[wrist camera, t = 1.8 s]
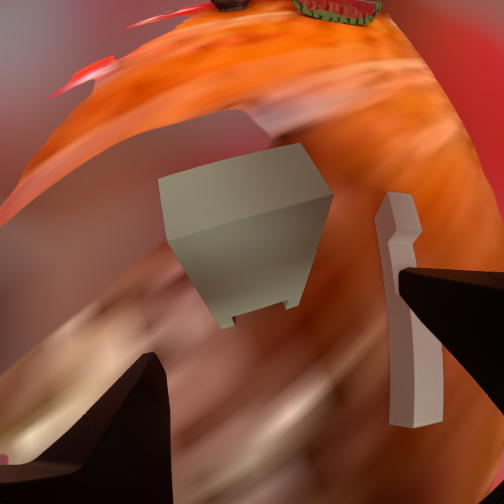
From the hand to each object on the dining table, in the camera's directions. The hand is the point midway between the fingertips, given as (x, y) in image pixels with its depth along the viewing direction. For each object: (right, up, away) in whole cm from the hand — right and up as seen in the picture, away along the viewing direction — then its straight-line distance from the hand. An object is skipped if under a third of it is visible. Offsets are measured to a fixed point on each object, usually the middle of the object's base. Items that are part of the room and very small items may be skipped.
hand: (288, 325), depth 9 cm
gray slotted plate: (-1, -1, +13) cm, 13 cm away
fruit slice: (+23, +70, +50) cm, 89 cm away
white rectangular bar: (+11, -2, +11) cm, 16 cm away
